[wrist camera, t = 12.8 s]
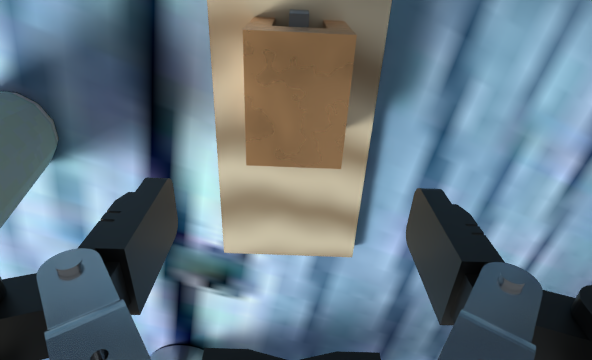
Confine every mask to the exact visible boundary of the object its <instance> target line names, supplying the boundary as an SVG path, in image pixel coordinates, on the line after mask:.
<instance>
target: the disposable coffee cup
mask: <svg viewBox="0 0 592 360" xmlns="http://www.w3.org/2000/svg"><path fill="white" fill-rule="evenodd" d="M57 142H58V136H57V132H56V128H55V125H54V121H53V120H52V119H51V118H50V117H49V115H48V114H47V113H46V112H45V111H44V110H43V109H42V108H41V106H40V105H39V104H38V103H36V102H34V101H32V100H30V99H28V98H26V97H24V96H22V95H20V94H18V93H12V92H4V91H0V228H1V227H2V226H3V224H4V223H5V222H6V220H7V219H8V218H9V216H10V215H11V214H12V212H13V211H14V210H15V208H16V207H17V206H18V204H19V203H20V202H21V200H22V199H23V198H24V196H25V195H26V194H27V192H28V191H29V190H30V188H31V187H32V186H33V184H34V183H35V182H36V180H37V179H38V178H39V177H40V175H41V174H42V173H43V171H44V170H45V169H46V167H47V166H48V165H49V163H50V162H51V161H52V158H53V155H54V153H55V150H56V147H57V145H58V144H57Z"/></svg>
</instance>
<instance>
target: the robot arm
mask: <svg viewBox="0 0 592 360" xmlns="http://www.w3.org/2000/svg"><path fill="white" fill-rule="evenodd" d="M477 225H478V224H477V223H476V222H475V220H474V219H473V217H472V216H471V215H470V214H469V213H468V212H467V211H465V210H464V209H463V208H461V207H460V206H459V205H456V204H451V202H450V201H449V199H448V198H447V196H446V195H445V193H444V192H443V190H441V189H424V188H418V189H417V190H416V191H415V193H414V197H413V202H412V206H411V210H410V214H409V219H408V223H407V227H406V241H407V245H408V248H409V250H410V253H411V255H412V257H413V260H414V262H415V265H416V267H417V270H418V272H419V275H420V277H421V280H422V282H423V285H424V287H425V289H426V292H427V294H428V297H429V299H430V302H431V304H432V307H433V309H434V312H435V314H436V317H437V319H438V321H439V324H440V325H454V326H453V328H452V330H451V332H450V335H449V337H448V339H447V341H446V343H445V345H444V347H443V349H442V352H441V354H440V356H439V358H438V360H592V285H589V286H585V287H583V288H582V289H581V290H580V292H579V293H578V295H577V297H576V298H572V297H568V296H564V295H560V294H556V293H553V292H549V291H545V290H542V287H541V285H540V283H539V282H538V281H537V280H536V279H535V277H533V276H532V275H531V274H530V273H528V272H527V271H525V270H523V269H521V268H519V267H517V266H515V265H512V264H508V263H505V262H504V261H503V259H502V258H501V256H500V255H499V254H498V252H497V251H496V249H495V248H494V247H493V245H492V244H491V242H490V241H489V240H488V238H487V237H486V235H484V233H483V231H482V230H481V229H480V227H478V226H477ZM177 226H178V218H177V211H176V203H175V196H174V189H173V183H172V181H171V179H169V178H145V179H144V180H143V182H142V183H141V185H140V186H139V187H138V189H137V190H136V192H128V193H126V194H125V195H123V196H122V197H120V198H118V199H117V200H115V201H114V203H113V204H112V205H111V206H110V208H109V209H108V210H107V213H105V214H104V215H103V217H102V218H101V221H99V222H98V223H97V224H96V226H95V227H94V228H93V229H92V231H91V232H90V233H89V235H88V236H87V237H86V238H85V240H84V241H83V242H82V243H81V245H80V246H79V247H78V249H72V250H68V251H64V252H62V253H59V254H57V255H55V256H53V257H52V258H50V259H48V260H47V261H46V262H45V263H44V264H43V265H42V266H41V267H40V268H39V270H38V272H37V273H35V274H30V275H25V276H19V277H14V278H8V279H3V280H2V279H1V277H0V360H42V359H46V358H49V359H50V360H286V359H282V358H278V357H275V356H271V355H267V354H264V353H260V352H256V351H253V350H249V349H223V348H204V350H202V349H199V348H196V347H192V346H184V345H175V346H168V347H164V348H162V349H159V350H157V351H156V352H154V353H153V354H152V355H151V356H149V354H148V352H147V350H146V347H145V345H144V343H143V341H142V339H141V336H140V334H139V332H138V330H137V328H136V326H135V323H134V321H133V319H132V317H131V315H140V314H141V312H142V309H143V307H144V305H145V303H146V301H147V298H148V296H149V294H150V292H151V289H152V287H153V285H154V283H155V281H156V278H157V276H158V274H159V272H160V270H161V267H162V265H163V263H164V261H165V259H166V256H167V254H168V252H169V250H170V247H171V245H172V243H173V241H174V239H175V236H176V233H177ZM301 360H381V358H380V353H369V352H333V353H328V354H324V355H319V356H314V357H310V358H305V359H301Z"/></svg>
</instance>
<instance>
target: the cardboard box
mask: <svg viewBox="0 0 592 360" xmlns="http://www.w3.org/2000/svg"><path fill="white" fill-rule="evenodd" d="M356 38H357V35H356V33H355V32H354V31H353V30H352V29H351V28H350V27H349V26H348V25H347V23H346V22H345V21H335V20H323V28H309V27H287V26H275V18H271V17H253V18H252V20H251V21H250V22H249V23H248V24H247V25H246V26H245V28H244V29H243V64H244V101H245V139H246V165H248V166H274V167H299V168H325V169H341V166H342V158H343V149H344V141H345V132H346V124H347V115H348V107H349V98H350V89H351V81H352V72H353V64H354V55H355V47H356Z"/></svg>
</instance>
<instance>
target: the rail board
mask: <svg viewBox="0 0 592 360" xmlns="http://www.w3.org/2000/svg"><path fill="white" fill-rule="evenodd" d="M391 3H392V0H207V5H208V20H209V35H210V50H211V64H212V79H213V94H214V109H215V124H216V138H217V153H218V168H219V183H220V198H221V213H222V227H223V242H224V253H247V254H276V255H305V256H333V257H352V255H353V248H354V242H355V235H356V229H357V223H358V216H359V210H360V203H361V197H362V190H363V184H364V177H365V171H366V164H367V158H368V152H369V145H370V139H371V132H372V126H373V119H374V113H375V106H376V100H377V93H378V87H379V81H380V74H381V68H382V61H383V55H384V48H385V42H386V35H387V29H388V23H389V16H390V10H391ZM253 17H271V18H275V26H287V27H309V28H323V20H335V21H345V22H346V23H347V25H348V26H349V27H350V28H351V29H352V30H353V31H354V32H355V33H356V35H357V38H356V47H355V55H354V64H353V72H352V81H351V89H350V98H349V107H348V115H347V124H346V132H345V141H344V149H343V158H342V166H341V169H325V168H299V167H274V166H248V165H246V139H245V101H244V64H243V29H244V28H245V26H246V25H247V24H248V23H249V22H250V21H251V20H252V18H253Z"/></svg>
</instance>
